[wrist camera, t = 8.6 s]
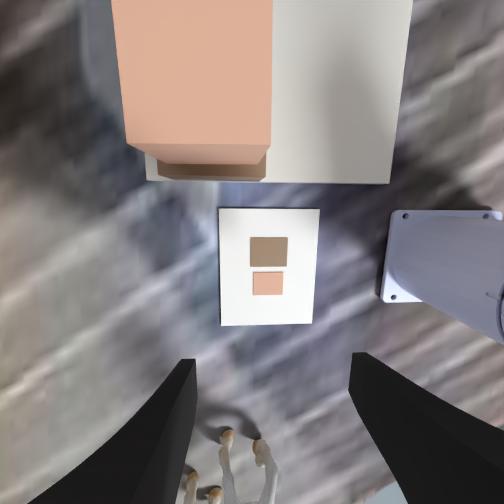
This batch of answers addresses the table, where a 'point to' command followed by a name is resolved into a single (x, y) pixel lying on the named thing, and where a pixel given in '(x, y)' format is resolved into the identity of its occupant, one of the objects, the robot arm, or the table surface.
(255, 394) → the table surface
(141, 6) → the terracotta block
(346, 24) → the base plate
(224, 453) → the unicorn figurine
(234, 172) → the walnut block
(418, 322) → the table surface
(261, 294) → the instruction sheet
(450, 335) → the table surface
